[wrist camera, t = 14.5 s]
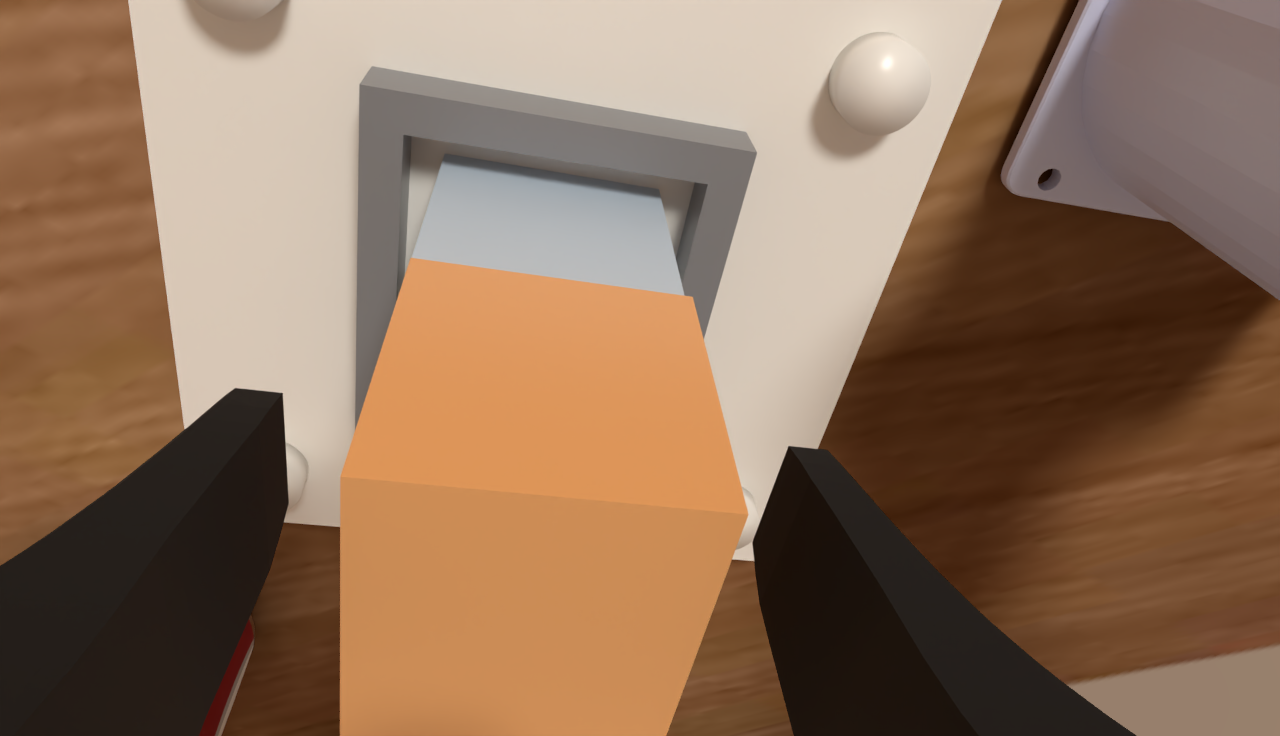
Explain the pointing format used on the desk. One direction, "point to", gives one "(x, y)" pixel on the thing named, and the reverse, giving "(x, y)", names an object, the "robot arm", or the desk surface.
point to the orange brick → (531, 510)
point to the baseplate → (548, 140)
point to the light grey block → (548, 225)
